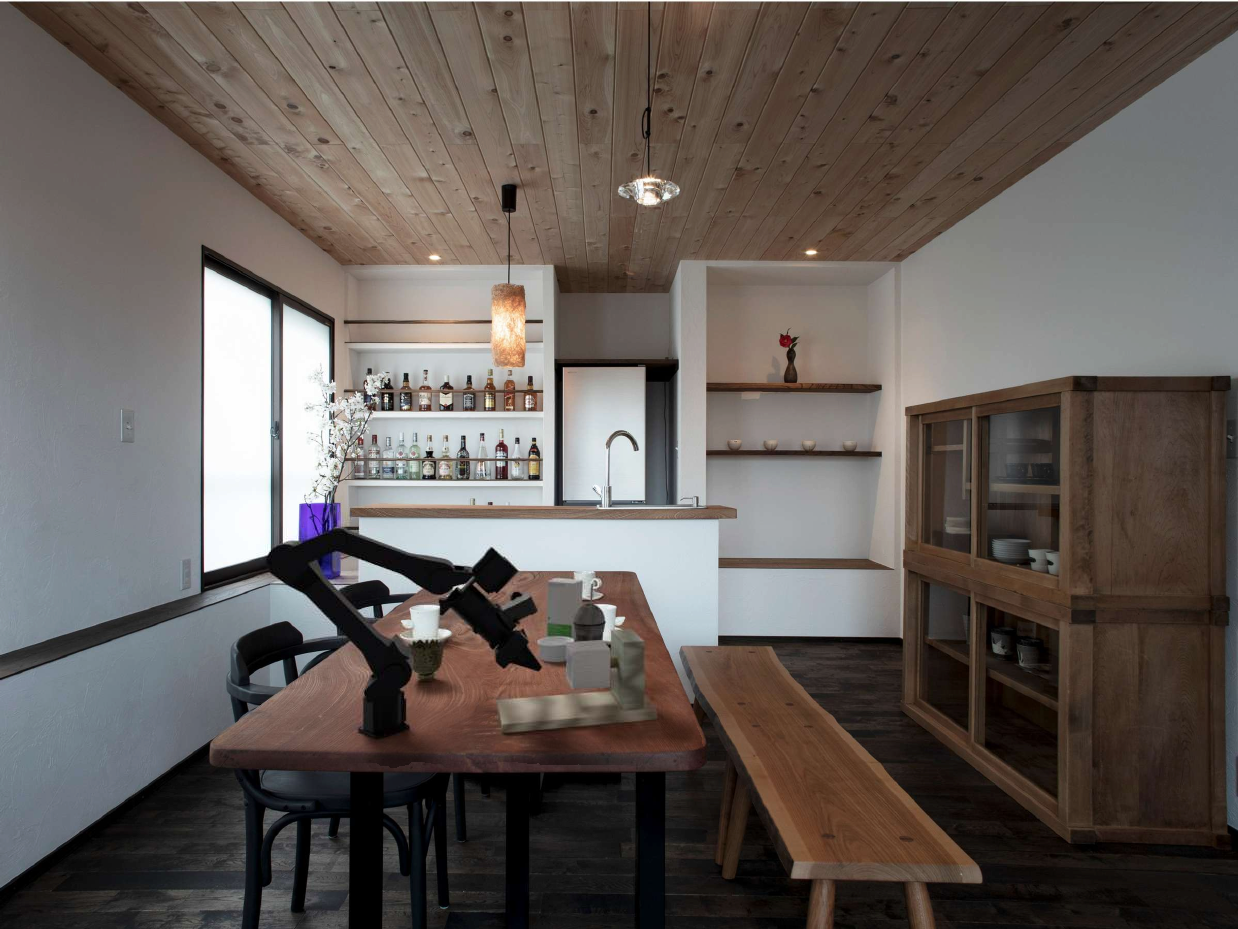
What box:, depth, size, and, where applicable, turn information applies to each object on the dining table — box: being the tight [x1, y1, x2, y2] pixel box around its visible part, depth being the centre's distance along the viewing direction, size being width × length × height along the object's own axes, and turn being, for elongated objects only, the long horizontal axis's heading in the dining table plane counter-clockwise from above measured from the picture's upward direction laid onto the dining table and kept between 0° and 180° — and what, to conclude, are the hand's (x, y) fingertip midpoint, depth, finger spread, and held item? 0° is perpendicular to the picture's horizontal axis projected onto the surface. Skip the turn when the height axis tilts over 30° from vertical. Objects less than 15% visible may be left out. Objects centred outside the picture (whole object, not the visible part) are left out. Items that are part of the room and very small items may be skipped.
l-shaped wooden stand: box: [496, 628, 658, 734], centre depth 129 cm, size 28×13×14 cm, turn 104°
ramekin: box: [536, 636, 575, 663], centre depth 167 cm, size 9×9×4 cm
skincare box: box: [545, 577, 584, 641], centre depth 187 cm, size 8×7×16 cm
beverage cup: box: [573, 583, 606, 642], centre depth 154 cm, size 7×7×20 cm
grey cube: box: [565, 639, 611, 691], centre depth 130 cm, size 7×7×7 cm
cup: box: [408, 638, 445, 682], centre depth 149 cm, size 8×7×8 cm
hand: (540, 669), depth 128 cm, fingers closed
